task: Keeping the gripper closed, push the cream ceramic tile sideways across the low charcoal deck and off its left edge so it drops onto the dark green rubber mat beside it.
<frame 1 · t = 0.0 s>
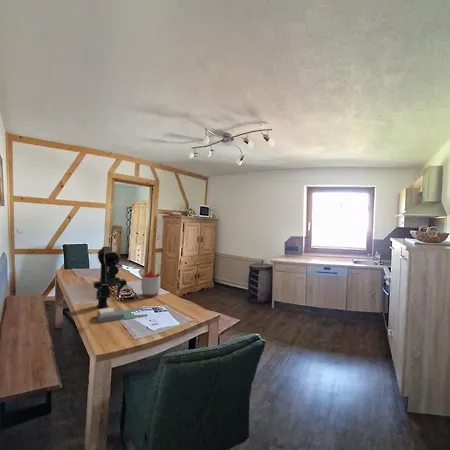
hand: (109, 296, 172), 15 cm above the table, fingers open, 9 cm apart
citrus juicer: (150, 295, 228), on the table
mat: (133, 313, 185), on the table
deck: (109, 317, 177), on the table
tile: (106, 313, 175), point 3 cm above the table, touching deck
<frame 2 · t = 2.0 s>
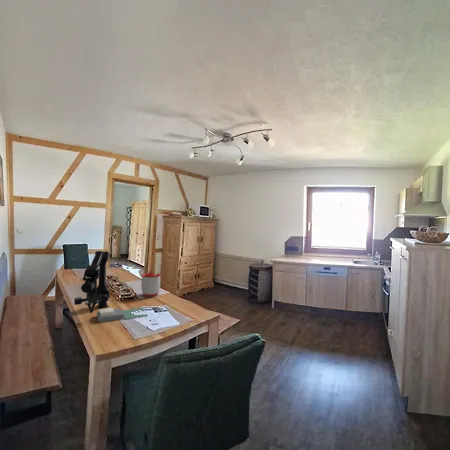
hand: (91, 313, 171), 5 cm above the table, fingers closed
nothing on the table moved.
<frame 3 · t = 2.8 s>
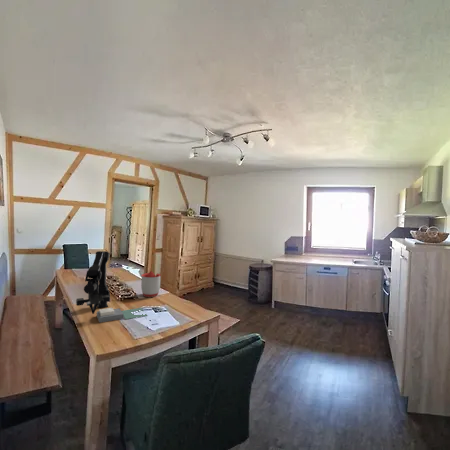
hand: (93, 313, 171), 4 cm above the table, fingers closed
nothing on the table moved.
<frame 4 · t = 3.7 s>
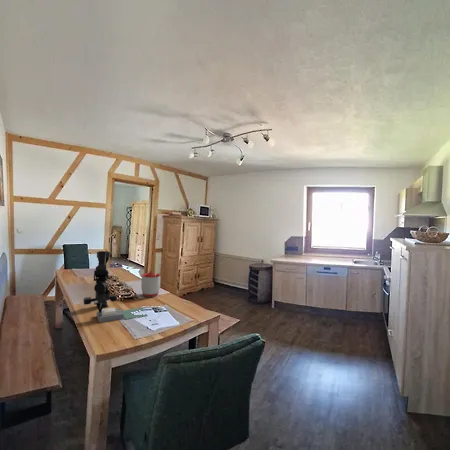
hand: (100, 312, 173), 4 cm above the table, fingers closed
tile: (108, 313, 176), point 3 cm above the table, touching deck, gripper
everything else where it was.
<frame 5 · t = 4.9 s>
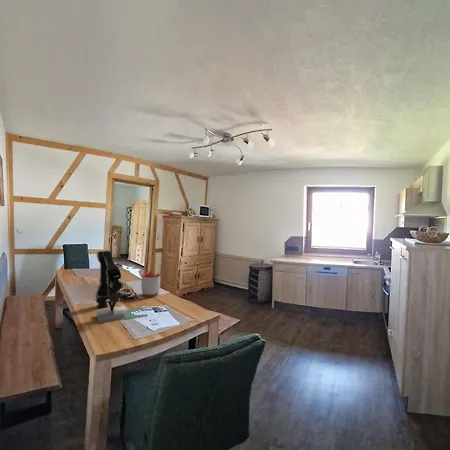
hand: (111, 310, 177), 4 cm above the table, fingers closed
tile: (119, 311, 179), point 3 cm above the table, touching gripper
everything else where it was.
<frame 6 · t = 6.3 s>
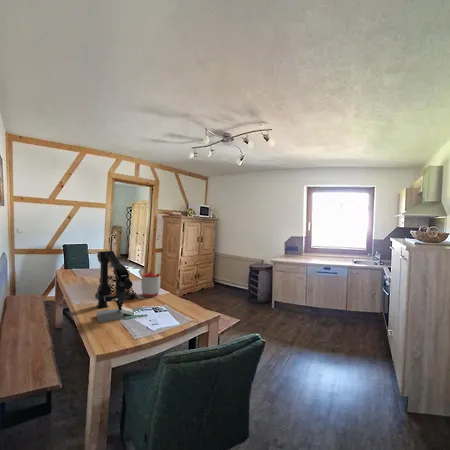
hand: (119, 309, 180), 4 cm above the table, fingers closed
tile: (125, 312, 182), point 2 cm above the table, tilted 22°, touching deck, gripper, mat
everything else where it was.
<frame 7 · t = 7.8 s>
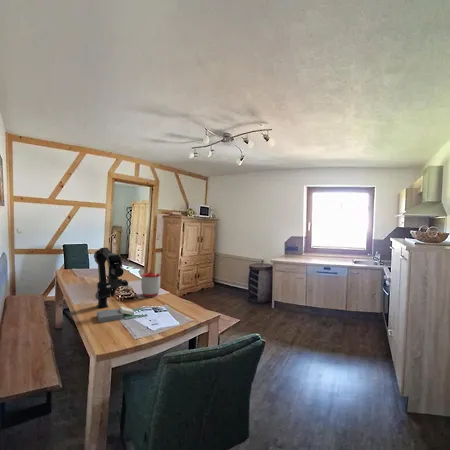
hand: (112, 296, 183), 12 cm above the table, fingers closed
tile: (125, 312, 182), point 2 cm above the table, tilted 22°, touching deck, mat
everything else where it was.
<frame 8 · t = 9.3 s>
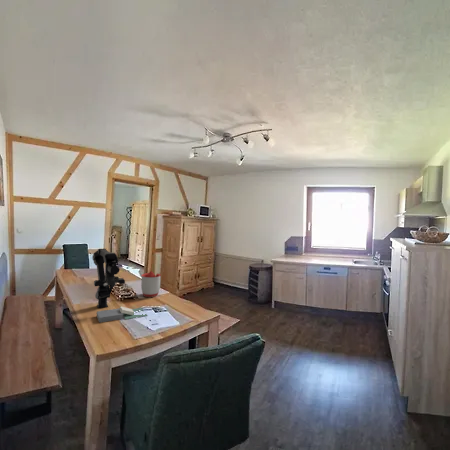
hand: (109, 294, 185), 12 cm above the table, fingers closed
nothing on the table moved.
at the end: tile inside the target area (5.6 cm from its centre), point 1.9 cm above the table; tile point 1.9 cm above the table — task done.
